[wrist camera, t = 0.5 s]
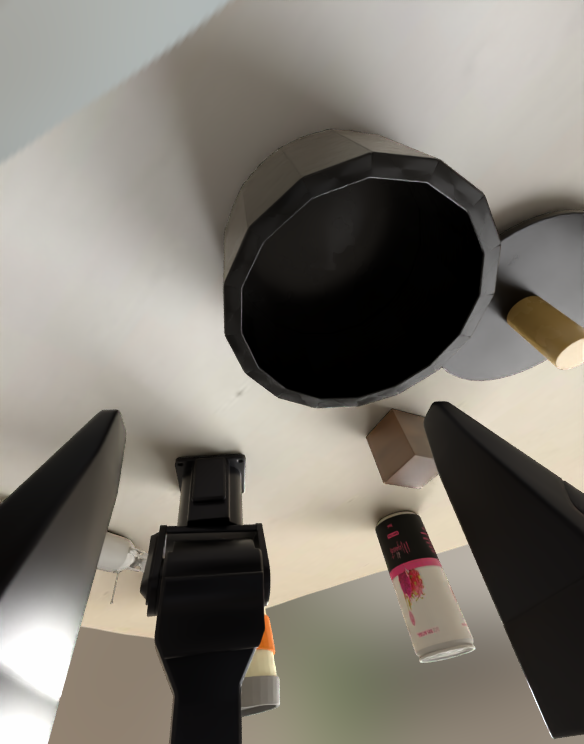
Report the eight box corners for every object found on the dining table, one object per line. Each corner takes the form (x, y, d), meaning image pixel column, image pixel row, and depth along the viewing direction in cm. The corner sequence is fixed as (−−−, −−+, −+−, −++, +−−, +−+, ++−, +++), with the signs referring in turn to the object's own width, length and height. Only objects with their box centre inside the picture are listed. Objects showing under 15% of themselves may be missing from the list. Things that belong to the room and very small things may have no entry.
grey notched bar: (-15, 509, 33) (-57, 585, 28) (14, 489, 31) (-25, 565, 27) (138, 554, 44) (127, 614, 39) (165, 541, 42) (157, 602, 38)
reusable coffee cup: (220, 569, 51) (218, 709, 39) (286, 577, 57) (300, 700, 46) (181, 598, 56) (169, 727, 45) (244, 602, 62) (248, 717, 51)
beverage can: (374, 516, 46) (421, 656, 35) (421, 505, 46) (482, 643, 35) (374, 535, 51) (415, 666, 39) (417, 526, 51) (470, 653, 39)
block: (426, 417, 33) (452, 462, 29) (399, 444, 36) (420, 489, 32) (391, 408, 32) (414, 455, 28) (365, 437, 34) (383, 483, 30)
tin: (393, 338, 26) (434, 404, 21) (226, 338, 24) (226, 411, 19) (464, 143, 18) (561, 172, 13) (221, 114, 16) (219, 134, 11)
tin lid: (539, 371, 31) (593, 422, 26) (401, 372, 29) (435, 430, 24) (658, 214, 22) (770, 250, 18) (475, 198, 20) (549, 235, 15)
